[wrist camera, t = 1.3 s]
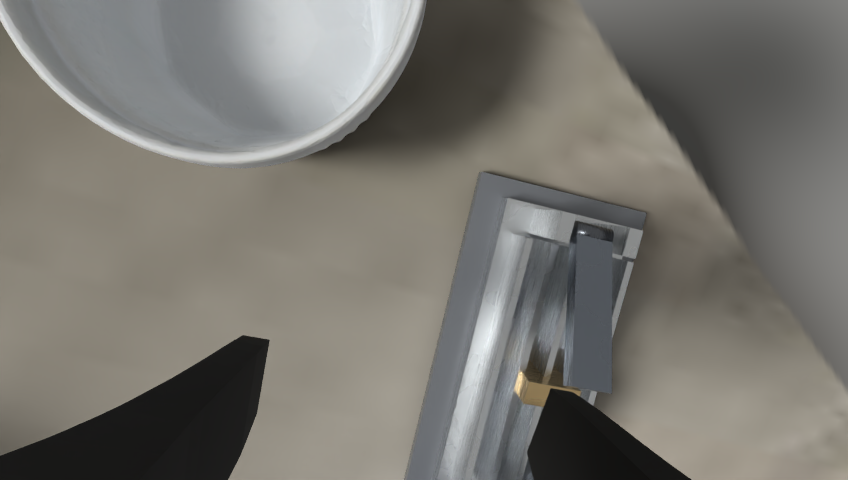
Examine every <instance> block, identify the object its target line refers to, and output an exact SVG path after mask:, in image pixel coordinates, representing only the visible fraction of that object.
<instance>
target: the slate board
mask: <svg viewBox="0 0 848 480" xmlns="http://www.w3.org/2000/svg"><path fill="white" fill-rule="evenodd" d="M502 198H511V199H515V200H519V201H523V202H527V203H531V204H535V205H540V206H544V207H548V208H552V209H556V210H560V211H564V212H568V213H572V214H576V215H580V216H585V217H589V218H593V219H597V220H601V221H605V222H609V223H613V224H617V225H621V226H626V227H630V228H634V229H638V230H642V228H643V225H644V221H645V218H646V214H647V213H645V212H641V211H637V210H633V209H629V208H625V207H621V206H617V205H613V204H609V203H605V202H601V201H597V200H593V199H589V198H585V197H581V196H577V195H573V194H569V193H565V192H561V191H557V190H553V189H549V188H545V187H541V186H537V185H533V184H529V183H525V182H521V181H517V180H513V179H509V178H505V177H501V176H497V175H493V174H489V173H485V172H479V175H478V179H477V183H476V187H475V191H474V196H473V200H472V204H471V208H470V212H469V216H468V220H467V224H466V228H465V232H464V236H463V241H462V245H461V249H460V253H459V257H458V261H457V265H456V269H455V273H454V277H453V281H452V286H451V290H450V294H449V298H448V302H447V306H446V310H445V314H444V318H443V322H442V326H441V331H440V335H439V339H438V343H437V347H436V351H435V355H434V359H433V363H432V367H431V371H430V376H429V380H428V384H427V388H426V392H425V396H424V400H423V404H422V408H421V412H420V416H419V421H418V425H417V429H416V433H415V437H414V441H413V445H412V449H411V453H410V457H409V461H408V466H407V470H406V474H405V478H404V480H431V479H432V475H433V471H434V467H435V463H436V459H437V455H438V451H439V447H440V443H441V439H442V435H443V431H444V427H445V423H446V419H447V415H448V411H449V407H450V403H451V399H452V395H453V391H454V387H455V383H456V379H457V375H458V371H459V367H460V363H461V359H462V355H463V351H464V347H465V343H466V339H467V335H468V331H469V327H470V323H471V319H472V315H473V311H474V307H475V303H476V299H477V295H478V291H479V287H480V283H481V279H482V275H483V271H484V267H485V263H486V259H487V255H488V251H489V247H490V244H491V240H492V236H493V232H494V228H495V224H496V220H497V216H498V212H499V208H500V204H501V200H502ZM622 260H625V261H629V262H633V260H634V258H629V257H625V256H623V257H622Z"/></svg>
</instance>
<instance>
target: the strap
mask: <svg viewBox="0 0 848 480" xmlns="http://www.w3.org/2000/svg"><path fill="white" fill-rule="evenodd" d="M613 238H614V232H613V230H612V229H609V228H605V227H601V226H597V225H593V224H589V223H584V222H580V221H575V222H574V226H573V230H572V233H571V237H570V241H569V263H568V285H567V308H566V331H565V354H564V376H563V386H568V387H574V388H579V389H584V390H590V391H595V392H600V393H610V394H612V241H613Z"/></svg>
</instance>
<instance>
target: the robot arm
mask: <svg viewBox="0 0 848 480" xmlns="http://www.w3.org/2000/svg"><path fill="white" fill-rule="evenodd" d="M268 346H269V340H267V339H261V338H255V337H250V336H244V335H243V336H241V337H239V338H238V339H236V340H234V341H232V342H231V343H229V344H228V345H226V346H224V347H223V348H221V349H219V350H218V351H216V352H215V353H213V354H211V355H210V356H208V357H207V358H205V359H203V360H202V361H200V362H198V363H197V364H195V365H193V366H192V367H190V368H188V369H187V370H185V371H183V372H182V373H180V374H178V375H176V376H175V377H173V378H171V379H170V380H168V381H166V382H164V383H162V384H160V385H158V386H157V387H155V388H153V389H151V390H149V391H147V392H145V393H143V394H142V395H140V396H138V397H136V398H134V399H132V400H130V401H128V402H126V403H124V404H122V405H120V406H118V407H116V408H114V409H112V410H110V411H108V412H106V413H104V414H101V415H99V416H97V417H95V418H93V419H90V420H88V421H86V422H84V423H81V424H79V425H77V426H75V427H72V428H70V429H68V430H65V431H63V432H61V433H58V434H56V435H54V436H51V437H49V438H46V439H44V440H41V441H38V442H36V443H33V444H31V445H28V446H25V447H23V448H20V449H17V450H15V451H12V452H9V453H7V454H4V455H2V456H0V480H228V478H229V476H230V475H231V473H232V471H233V469H234V467H235V465H236V463H237V461H238V459H239V457H240V455H241V453H242V450H243V448H244V445H245V443H246V440H247V438H248V435H249V432H250V430H251V427H252V425H253V422H254V419H255V417H256V414H257V409H258V404H259V398H260V392H261V386H262V380H263V375H264V369H265V363H266V357H267V351H268ZM527 455H528V459H529V463H530V467H531V472H532V476H533V479H534V480H691V479H690V478H688V477H687V476H685V475H684V474H683V473H681V472H680V471H679V470H677V469H676V468H674V467H673V466H672V465H670V464H669V463H668V462H666V461H665V460H664V459H662V458H661V457H659V456H658V455H657V454H655V453H654V452H653V451H652V450H650V449H649V448H648V447H646V446H645V445H644V444H642V443H641V442H640V441H638V440H637V439H636V438H635V437H633V436H632V435H631V434H629V433H628V432H627V431H625V430H624V429H623V428H622V427H620V426H619V425H618V424H616V423H615V422H614V421H613V420H611V419H610V418H609V417H607V416H606V415H605V414H603V413H602V412H601V411H599V410H598V409H597V408H595V407H594V406H593V405H591V404H590V403H588V402H587V401H586V400H584V399H583V398H581V397H580V396H578V395H577V394H575V393H573V392H570V391H565V390H559V389H553V388H551V389H550V392H549V394H548V397H547V400H546V402H545V405H544V408H543V410H542V413H541V416H540V418H539V421H538V424H537V426H536V429H535V432H534V434H533V437H532V440H531V442H530V445H529V448H528V450H527Z"/></svg>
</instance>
